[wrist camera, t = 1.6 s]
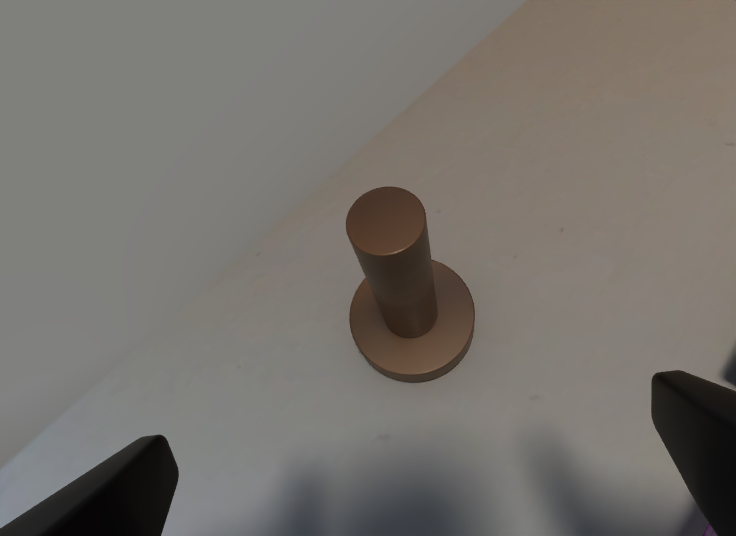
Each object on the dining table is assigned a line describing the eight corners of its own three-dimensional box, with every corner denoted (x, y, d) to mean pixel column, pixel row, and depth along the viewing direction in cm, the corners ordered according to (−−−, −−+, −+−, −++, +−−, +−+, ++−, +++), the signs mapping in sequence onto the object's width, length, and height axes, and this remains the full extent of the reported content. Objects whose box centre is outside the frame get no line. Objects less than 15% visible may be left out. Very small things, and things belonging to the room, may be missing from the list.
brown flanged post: (495, 353, 21) (519, 260, 13) (379, 401, 21) (326, 340, 13) (443, 253, 24) (433, 119, 15) (340, 296, 24) (273, 185, 15)
